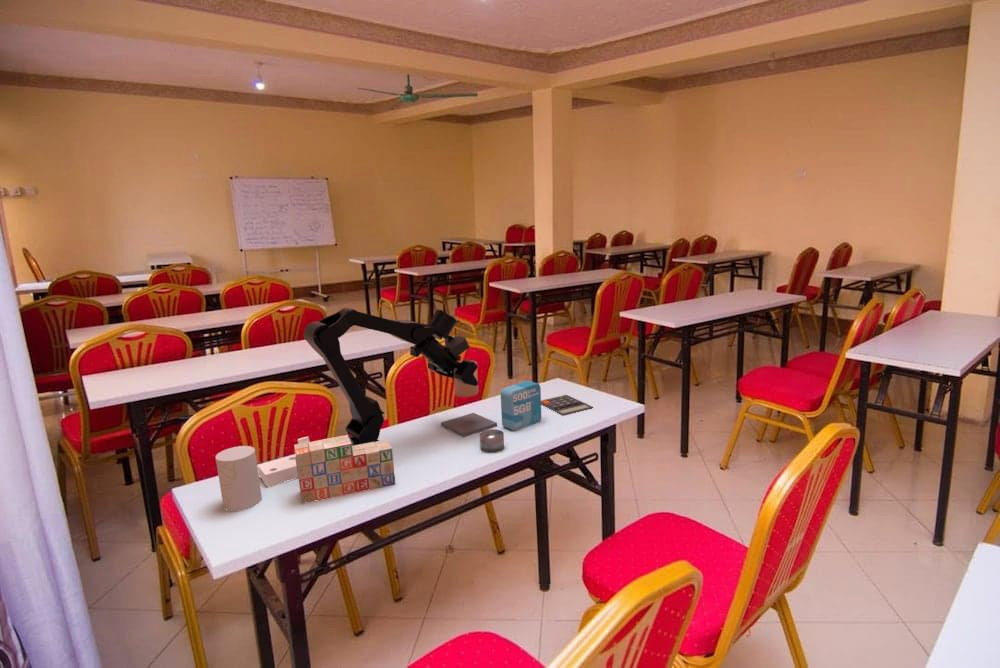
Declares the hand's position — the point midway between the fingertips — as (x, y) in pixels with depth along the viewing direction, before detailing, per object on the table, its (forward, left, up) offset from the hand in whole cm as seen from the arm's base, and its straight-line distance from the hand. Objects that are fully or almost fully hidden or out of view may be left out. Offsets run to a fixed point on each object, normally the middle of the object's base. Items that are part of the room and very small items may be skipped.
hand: (470, 382), depth 173 cm
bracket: (-53, 0, -14) cm, 55 cm away
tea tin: (-4, -18, -13) cm, 23 cm away
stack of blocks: (-44, -17, -14) cm, 49 cm away
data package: (+12, -9, -14) cm, 20 cm away
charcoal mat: (-1, 0, -13) cm, 13 cm away
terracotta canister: (-1, 0, -3) cm, 3 cm away
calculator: (+32, -4, -14) cm, 35 cm away
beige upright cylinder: (-65, -8, -13) cm, 67 cm away
